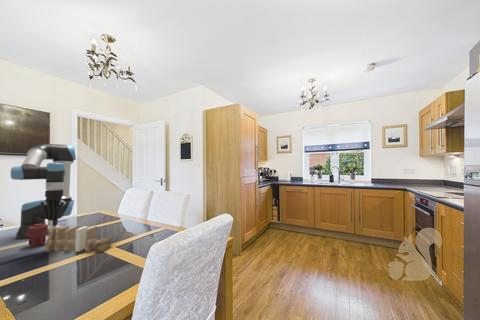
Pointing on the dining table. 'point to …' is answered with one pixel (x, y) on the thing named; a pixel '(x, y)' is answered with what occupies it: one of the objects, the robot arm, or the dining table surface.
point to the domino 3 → (70, 238)
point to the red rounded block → (37, 234)
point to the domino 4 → (80, 238)
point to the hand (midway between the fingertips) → (52, 231)
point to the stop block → (102, 244)
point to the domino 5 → (90, 238)
